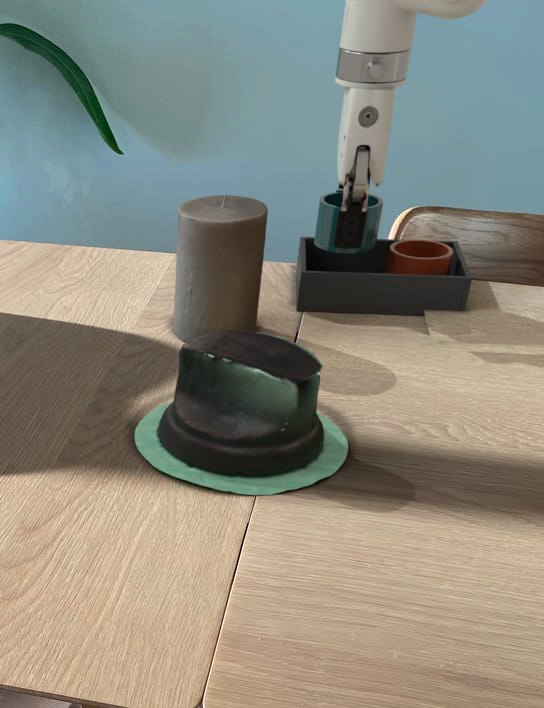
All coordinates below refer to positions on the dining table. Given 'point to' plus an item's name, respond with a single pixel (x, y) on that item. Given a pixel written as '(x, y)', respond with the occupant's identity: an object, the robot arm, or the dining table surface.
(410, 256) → the orange cup
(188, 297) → the pillar candle
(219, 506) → the dining table surface
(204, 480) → the dark hat
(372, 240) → the teal cup
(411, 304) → the tub
